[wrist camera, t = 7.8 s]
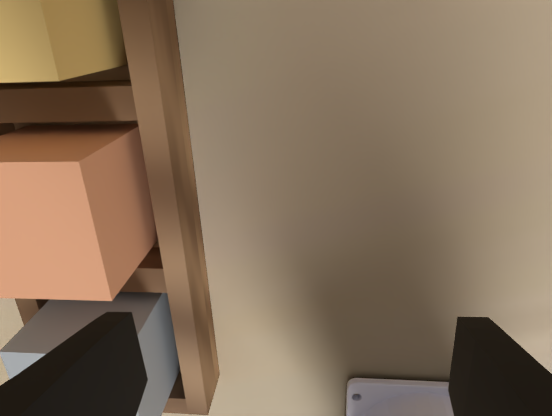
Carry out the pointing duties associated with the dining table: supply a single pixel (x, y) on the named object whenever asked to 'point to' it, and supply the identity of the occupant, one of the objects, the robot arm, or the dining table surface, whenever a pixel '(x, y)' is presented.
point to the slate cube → (78, 313)
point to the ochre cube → (59, 39)
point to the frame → (160, 172)
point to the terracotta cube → (72, 211)
